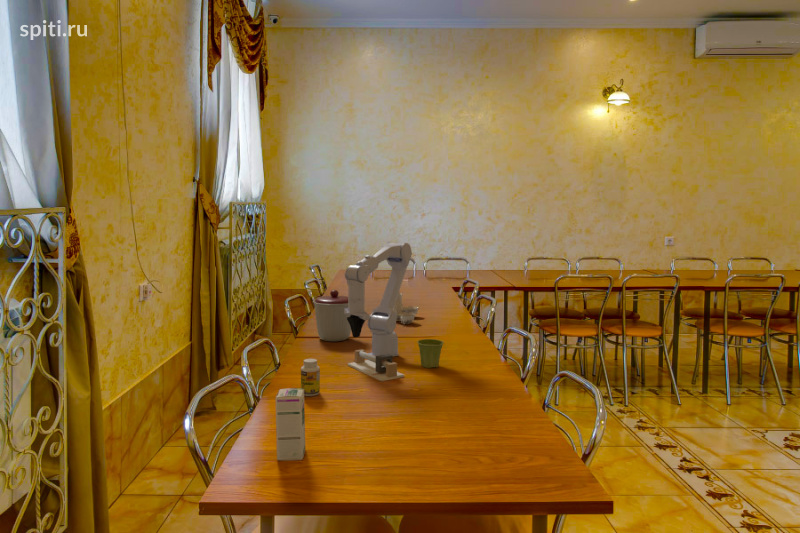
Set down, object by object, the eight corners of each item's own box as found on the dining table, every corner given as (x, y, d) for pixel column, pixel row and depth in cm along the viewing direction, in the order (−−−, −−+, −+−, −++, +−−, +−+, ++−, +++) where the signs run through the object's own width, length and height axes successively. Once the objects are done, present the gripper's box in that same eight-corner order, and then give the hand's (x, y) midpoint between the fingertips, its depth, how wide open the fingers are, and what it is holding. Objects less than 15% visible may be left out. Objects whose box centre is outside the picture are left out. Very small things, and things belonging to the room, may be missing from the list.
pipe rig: (347, 365, 198) (347, 351, 198) (369, 361, 203) (369, 348, 203) (381, 381, 180) (381, 365, 180) (404, 376, 185) (404, 361, 185)
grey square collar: (375, 371, 187) (375, 356, 186) (388, 369, 189) (388, 353, 189) (379, 373, 185) (379, 357, 184) (392, 370, 188) (392, 355, 187)
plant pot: (447, 364, 201) (447, 340, 201) (437, 371, 193) (438, 346, 192) (422, 361, 205) (423, 337, 204) (412, 367, 197) (413, 343, 196)
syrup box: (303, 460, 123) (302, 395, 121) (275, 461, 122) (275, 396, 121) (305, 449, 128) (305, 387, 127) (279, 449, 128) (278, 388, 126)
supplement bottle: (297, 395, 165) (297, 361, 164) (306, 390, 171) (306, 357, 170) (314, 397, 164) (314, 363, 163) (322, 392, 169) (322, 358, 168)
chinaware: (417, 329, 268) (421, 295, 266) (382, 325, 268) (386, 291, 266) (417, 318, 296) (421, 287, 294) (386, 314, 296) (389, 283, 294)
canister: (344, 345, 228) (345, 294, 226) (305, 341, 233) (305, 291, 231) (362, 336, 245) (362, 288, 243) (324, 333, 250) (324, 286, 248)
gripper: (336, 297, 202) (336, 334, 203) (357, 302, 190) (356, 342, 191) (353, 295, 206) (353, 332, 207) (374, 301, 194) (374, 339, 195)
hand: (356, 336), depth 199 cm, fingers closed
